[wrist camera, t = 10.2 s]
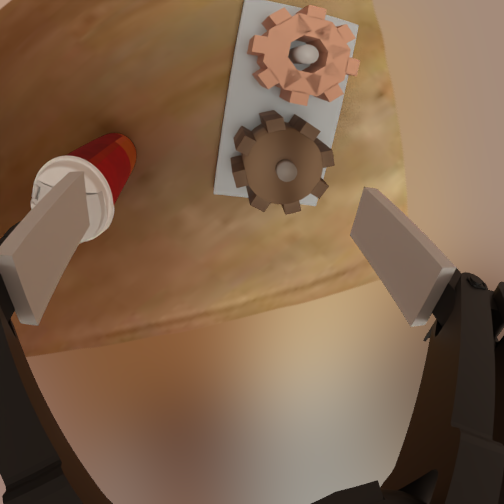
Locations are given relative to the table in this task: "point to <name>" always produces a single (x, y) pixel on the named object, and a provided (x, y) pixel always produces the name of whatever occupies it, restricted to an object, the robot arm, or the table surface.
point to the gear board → (269, 94)
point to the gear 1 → (312, 33)
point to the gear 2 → (280, 162)
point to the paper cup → (92, 177)
